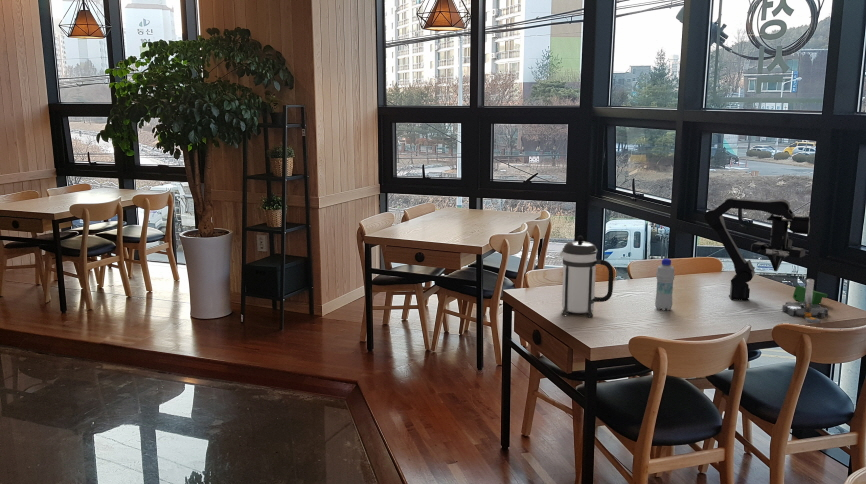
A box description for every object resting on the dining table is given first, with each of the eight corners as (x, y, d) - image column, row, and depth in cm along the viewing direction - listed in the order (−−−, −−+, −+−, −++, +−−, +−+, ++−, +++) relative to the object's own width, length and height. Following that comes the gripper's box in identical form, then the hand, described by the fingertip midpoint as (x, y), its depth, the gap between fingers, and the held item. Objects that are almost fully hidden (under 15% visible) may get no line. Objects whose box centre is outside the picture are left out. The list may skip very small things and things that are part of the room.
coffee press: (576, 321, 261) (579, 241, 255) (550, 310, 275) (552, 234, 269) (612, 315, 269) (616, 237, 263) (585, 304, 282) (588, 230, 276)
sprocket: (809, 320, 259) (813, 283, 256) (773, 309, 273) (776, 274, 270) (836, 314, 266) (840, 278, 263) (800, 304, 279) (803, 269, 276)
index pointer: (807, 322, 258) (807, 319, 258) (805, 319, 261) (805, 316, 261) (819, 322, 257) (819, 320, 257) (817, 320, 261) (817, 317, 260)
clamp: (818, 315, 281) (831, 298, 276) (805, 313, 279) (818, 295, 274) (802, 296, 290) (814, 279, 286) (790, 294, 289) (802, 276, 284)
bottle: (672, 307, 277) (675, 257, 273) (672, 312, 271) (675, 261, 267) (654, 305, 280) (657, 256, 276) (654, 310, 273) (656, 260, 269)
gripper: (812, 232, 275) (808, 271, 278) (763, 226, 289) (760, 264, 292) (801, 236, 268) (797, 276, 271) (751, 230, 281) (748, 268, 285)
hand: (775, 271), depth 280 cm, fingers closed
